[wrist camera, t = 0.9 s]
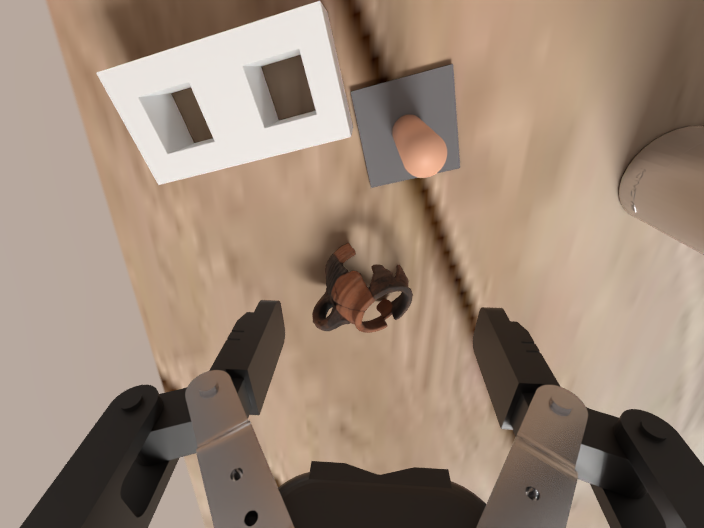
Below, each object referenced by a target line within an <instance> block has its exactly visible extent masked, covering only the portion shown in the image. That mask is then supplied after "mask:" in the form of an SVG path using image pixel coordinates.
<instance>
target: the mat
mask: <svg viewBox="0 0 704 528" xmlns="http://www.w3.org/2000/svg"><path fill="white" fill-rule="evenodd" d="M351 96H352V101H353V105H354V110H355V115H356V119H357V124H358V129H359V133H360V138H361V143H362V147H363V152H364V157H365V161H366V166H367V171H368V175H369V180H370V184H371V188H373V187H377V186H381V185H386V184H390V183H395V182H399V181H404V180H408V179H413V178H417V177H415V176H413V175H411V174H410V173H409V172H408V171H407V170H406V169H405V167H404V165H403V162H402V160H401V157H400V155H399V152H398V149H397V147H396V144H395V142H394V139H393V136H392V130H393V126H394V124H395V122H396V121H397V120H398V119H399V118H400V117H402V116H404V115H408V114H411V115H415V116H417V117H418V118H420V119H421V120H422V121H423V122H424V123H425V124H426V125H428V126H429V127H430V128H431V129H432V130H433V131H434V132H435V133H437V134H438V135H439V136H440V137H441V138H442V139H443V140H444V142H445V144H446V147H447V158H446V162H445V164H444V166H443V167H442V168H441V170H440V171H439V172H437V173H440V172H444V171H449V170H453V169H458V168H460V158H459V144H458V129H457V115H456V100H455V86H454V71H453V64H450V65H447V66H443V67H439V68H436V69H432V70H428V71H425V72H421V73H417V74H414V75H410V76H406V77H403V78H399V79H395V80H392V81H388V82H384V83H381V84H377V85H373V86H370V87H366V88H362V89H359V90H355V91H351Z"/></svg>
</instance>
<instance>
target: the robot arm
mask: <svg viewBox="0 0 704 528" xmlns="http://www.w3.org/2000/svg"><path fill="white" fill-rule="evenodd" d="M619 198H620V202H621V205H622V206H623V208H624V210H625V211H627V212H628V213H629V214H630V215H632V216H634V217H636V218H637V219H639V220H641V221H643V222H645V223H647V224H648V225H650V226H652V227H654V228H656V229H658V230H659V231H661V232H663V233H664V234H666V235H668V236H670V237H672V238H674V239H676V240H677V241H679V242H681V243H683V244H685V245H687V246H688V247H690V248H692V249H694V250H696V251H698V252H699V253H701V254H703V255H704V126H689V127H684V128H679V129H676V130H674V131H671V132H669V133H666V134H664V135H663V136H661V137H659V138H657V139H656V140H654V141H653V142H651V143H650V144H649V145H647V146H646V147H645V148H644V149H643V150H642V151H641V152H640V153H639V154H638V155H637V156H636V157H635V158H634V159H633V160H632V162H631V163H630V164H629V166H628V167H627V169H626V171H625V173H624V175H623V177H622V180H621V183H620V188H619ZM284 339H285V327H284V321H283V314H282V308H281V303H280V301H271V300H261V301H260V302H259V303H258V305H257V307H256V309H255V311H254V312H247V313H246V314H244V315H243V316H242V317H241V318H240V319H239V320H237V322H236V324H235V326H234V327H233V329H232V332H231V333H230V335H229V336H228V338H227V340H226V342H225V344H224V345H223V347H222V349H221V351H220V353H219V354H218V356H217V358H216V360H215V362H214V363H213V365H212V367H211V369H210V370H209V371H208V372H205V373H203V374H201V375H199V376H197V377H196V378H195V379H193V380H192V382H191V383H190V384H189V385H188V387H187V388H184V389H180V390H175V391H171V392H166V393H162V394H159V393H158V391H157V389H156V388H155V387H153V386H151V385H139V386H136V387H133V388H130V389H128V390H126V391H125V392H123V393H121V394H120V395H119V396H117V397H116V398H115V399H114V400H113V401H112V402H111V404H110V405H109V406H108V408H107V409H106V411H105V412H104V413H103V415H102V416H101V417H100V419H99V420H98V422H97V423H96V424H95V426H94V427H93V428H92V430H91V431H90V432H89V434H88V435H87V436H86V438H85V439H84V441H83V442H82V443H81V445H80V446H79V447H78V449H77V450H76V451H75V453H74V454H73V456H72V457H71V458H70V460H69V461H68V462H67V464H66V465H65V466H64V468H63V469H62V471H61V472H60V473H59V475H58V476H57V477H56V479H55V480H54V482H53V483H52V484H51V486H50V487H49V488H48V490H47V491H46V492H45V494H44V495H43V497H42V498H41V499H40V501H39V502H38V503H37V505H36V506H35V507H34V509H33V510H32V512H31V513H30V514H29V516H28V517H27V518H26V520H25V521H24V522H23V524H22V525H21V527H20V528H148V526H149V524H150V522H151V519H152V517H153V515H154V513H155V511H156V508H157V506H158V504H159V502H160V499H161V497H162V495H163V493H164V491H165V488H166V486H167V484H168V482H169V480H170V477H171V475H172V473H173V471H174V468H175V466H176V464H177V462H178V460H179V458H180V457H183V456H187V455H191V454H194V453H197V458H198V462H199V466H200V470H201V475H202V479H203V483H204V487H205V491H206V496H207V500H208V504H209V508H210V512H211V516H212V521H213V525H214V528H566V525H567V520H568V516H569V512H570V508H571V504H572V500H573V496H574V492H575V487H576V483H577V479H579V480H582V481H585V482H588V483H590V485H591V487H592V489H593V491H594V493H595V496H596V498H597V500H598V502H599V504H600V506H601V509H602V511H603V513H604V515H605V517H606V519H607V522H608V524H609V526H610V528H704V466H703V464H702V463H701V462H700V460H699V459H698V458H697V457H696V455H695V454H694V453H693V451H692V450H691V449H690V448H689V446H688V445H687V444H686V442H685V441H684V440H683V438H682V437H681V436H680V435H679V433H678V432H677V431H676V430H675V429H674V428H673V427H672V426H671V425H669V424H668V423H667V422H665V421H664V420H662V419H661V418H659V417H657V416H655V415H653V414H651V413H649V412H646V411H642V410H637V409H630V410H626V411H624V412H623V413H622V415H621V416H620V418H618V417H615V416H611V415H608V414H605V413H601V412H598V411H595V410H592V409H589V408H587V407H586V406H585V405H584V403H583V402H582V401H581V400H580V399H579V398H578V397H577V396H576V395H575V394H573V393H572V392H570V391H569V390H567V389H565V388H562V387H560V385H559V383H558V382H557V380H556V378H555V377H554V375H553V373H552V371H551V370H550V368H549V366H548V365H547V363H546V361H545V360H544V358H543V356H542V354H541V353H539V349H538V348H537V346H536V344H534V341H533V339H532V337H531V336H530V334H529V332H528V331H527V330H526V329H525V328H524V327H522V326H521V325H520V324H519V323H518V322H512V321H510V320H509V318H508V317H507V315H506V313H505V311H504V309H502V308H484V307H482V308H481V309H480V311H479V315H478V319H477V323H476V327H475V331H474V336H473V349H474V353H475V356H476V359H477V362H478V364H479V367H480V370H481V373H482V376H483V379H484V382H485V384H486V387H487V390H488V393H489V396H490V399H491V402H492V404H493V407H494V410H495V413H496V416H497V419H498V422H499V424H500V427H501V429H512V430H513V431H514V434H515V436H516V438H515V440H514V442H513V445H512V447H511V449H510V452H509V454H508V456H507V458H506V461H505V463H504V465H503V468H502V470H501V472H500V475H499V477H498V479H497V481H496V484H495V486H494V488H493V491H492V493H491V495H490V497H489V500H488V502H487V504H486V503H485V502H484V501H482V500H481V499H480V498H479V497H478V496H476V495H475V494H474V493H473V492H471V491H469V490H468V489H466V488H465V487H463V486H461V485H459V484H456V483H454V482H451V481H450V476H449V471H448V469H432V468H415V467H414V468H409V469H405V470H400V471H396V472H392V473H387V474H383V475H377V474H374V473H371V472H368V471H365V470H363V469H360V468H357V467H354V466H351V465H348V464H346V463H334V462H317V461H312V462H311V468H310V472H308V473H304V474H301V475H299V476H296V477H294V478H292V479H290V480H288V481H287V482H285V483H284V484H283V485H281V486H280V487H279V488H278V487H277V485H276V482H275V480H274V477H273V475H272V473H271V470H270V468H269V465H268V463H267V461H266V458H265V456H264V453H263V451H262V449H261V446H260V444H259V441H258V439H257V437H256V434H255V432H254V429H253V427H252V425H251V423H250V421H248V417H249V415H260V412H261V409H262V406H263V403H264V400H265V397H266V394H267V391H268V388H269V385H270V382H271V379H272V376H273V374H274V371H275V368H276V365H277V362H278V359H279V356H280V353H281V350H282V347H283V344H284Z"/></svg>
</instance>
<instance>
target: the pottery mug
mask: <svg viewBox="0 0 704 528" xmlns="http://www.w3.org/2000/svg"><path fill="white" fill-rule="evenodd" d="M355 254H356V252H355V250H354V249H353V248H352V247H351V245H350V244H349V243H348V244H345V245H343V246H342V247H340V248H339V249H338V250H337V251H335V252H334V254H332V256H331V257H330V259H329V260H328V262H327V265H326V268H325V272H326V286H327V288H326V292H325V294H324V295H323V296H322V298H321V299H320V300H319V301H318V302H317V304H316V305H315V307H314V310H313V323H315V326H316V327H317V328H319V329H321V330H323V331H331V330H333V329H336V328H338V327H339V326H341V325H344V324H350V323H352V324H355V326H356V328H357V329H358V330H359V331H361V332H367V333H369V332H376V331H379V330H381V329H384V328H386V327H387V324H386V322H385V319H387V318H388V317H390V316H391V315H392V314H393V317H394V319H395V320H397V319H399V318H400V317H401V316H402V315H403V314H404V313H405V312H406V311H407V309H408V308H409V306H410V304H411V301H412V296H413V294H412V291H411V289H410V288H409V287H408V278H407V277H406V275H405V273H404V271H403V269H402V268H401V266H400V265H397V272H396V275H395V277H394V276H393V274H392V273H391V272H390V271H389V270H387V269H385V268H384V267H383V266H382V265H373V266H372V270H373V273H374V274H373V277H372V282H371V284H370V287H369V288H368V287H367V285H366V284H365V282H364V280H363V278H362V276H361V274H360V273H358V272H357V271H350V272H348V270H347V269H345V268H344V267H343V263H344V262H345V261H346V260H348V259H349V258H351V257H352V256H354V255H355ZM395 291H401V292H402V293H401V295H400V296H399V297H397V298H396V299H395V300H394V301H392V302H391V301H389V300H387V299H383V300H382V301H381V302H380V303H379V304H378V305H377V310H378V311H379V312H380V313H381V316H380V317H378V318H375V319H373V320H370V321H364V322H362V318H363V315H364V313H365V311H366V310H367V308H368V307H369V306H370V305H371V304H372V303H373V302H374V301H375V300H376V299H378V298H380V297H382V296H384V295H386V294H388V293H391V292H395ZM332 307H333V308H332ZM330 308H332V312H331V313H330V315H329V316H328V317H327V318H326V314H327V312H328V310H329V309H330Z"/></svg>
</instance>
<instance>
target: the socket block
mask: <svg viewBox="0 0 704 528" xmlns="http://www.w3.org/2000/svg"><path fill="white" fill-rule="evenodd" d="M298 55H301V57H302V61H303V65H304V69H305V72H306V76H307V80H308V83H309V87H310V91H311V94H312V98H313V102H314V105H315V109H316V111H312V112H309V113H305V114H301V115H297V116H294V117H290V118H286V119H282V120H279V119H278V116H277V113H276V110H275V107H274V104H273V101H272V98H271V95H270V92H269V89H268V86H267V83H266V80H265V77H264V74H263V71H262V68H261V66H265V65H268V64H271V63H275V62H278V61H281V60H285V59H288V58H291V57H295V56H298ZM97 75H98V77H99V79H100V80H101V82H102V84H103V86H104V88H105V89H106V91H107V93H108V95H109V97H110V98H111V100H112V102H113V104H114V106H115V107H116V109H117V111H118V113H119V115H120V116H121V118H122V120H123V122H124V124H125V125H126V127H127V129H128V131H129V133H130V134H131V136H132V138H133V140H134V142H135V143H136V145H137V147H138V149H139V151H140V152H141V154H142V156H143V158H144V160H145V161H146V163H147V165H148V167H149V169H150V170H151V172H152V174H153V176H154V178H155V179H156V181H157V183H158V185H161V184H165V183H169V182H173V181H177V180H181V179H184V178H188V177H192V176H196V175H200V174H204V173H208V172H212V171H216V170H220V169H224V168H228V167H232V166H236V165H240V164H244V163H248V162H252V161H256V160H260V159H264V158H268V157H272V156H276V155H280V154H284V153H288V152H292V151H296V150H300V149H304V148H308V147H312V146H316V145H320V144H324V143H328V142H332V141H336V140H340V139H344V138H348V137H351V135H352V130H353V125H352V120H351V116H350V111H349V107H348V102H347V98H346V93H345V89H344V84H343V80H342V75H341V71H340V66H339V62H338V57H337V53H336V48H335V44H334V39H333V35H332V30H331V26H330V21H329V17H328V12H327V11H326V9H325V8H324V6H323V5H322V3H321V2H320V1H317V2H314V3H311V4H308V5H305V6H302V7H299V8H295V9H292V10H289V11H286V12H283V13H280V14H277V15H274V16H271V17H268V18H264V19H261V20H258V21H255V22H252V23H249V24H246V25H243V26H240V27H237V28H233V29H230V30H227V31H224V32H221V33H218V34H215V35H212V36H209V37H206V38H202V39H199V40H196V41H193V42H190V43H187V44H184V45H181V46H178V47H175V48H171V49H168V50H165V51H162V52H159V53H156V54H153V55H150V56H147V57H144V58H140V59H137V60H134V61H131V62H128V63H125V64H122V65H119V66H116V67H112V68H109V69H106V70H103V71H100V72H97ZM188 88H192V90H193V93H194V95H195V97H196V100H197V102H198V104H199V106H200V109H201V111H202V113H203V116H204V118H205V120H206V123H207V125H208V127H209V129H210V132H211V134H212V136H213V138H211V139H208V140H204V141H200V142H197V143H194V141H193V139H192V137H191V135H190V133H189V131H188V129H187V126H186V124H185V122H184V120H183V118H182V116H181V114H180V111H179V109H178V107H177V105H176V103H175V101H174V99H173V96H172V94H171V93H174V92H177V91H181V90H184V89H188Z"/></svg>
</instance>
